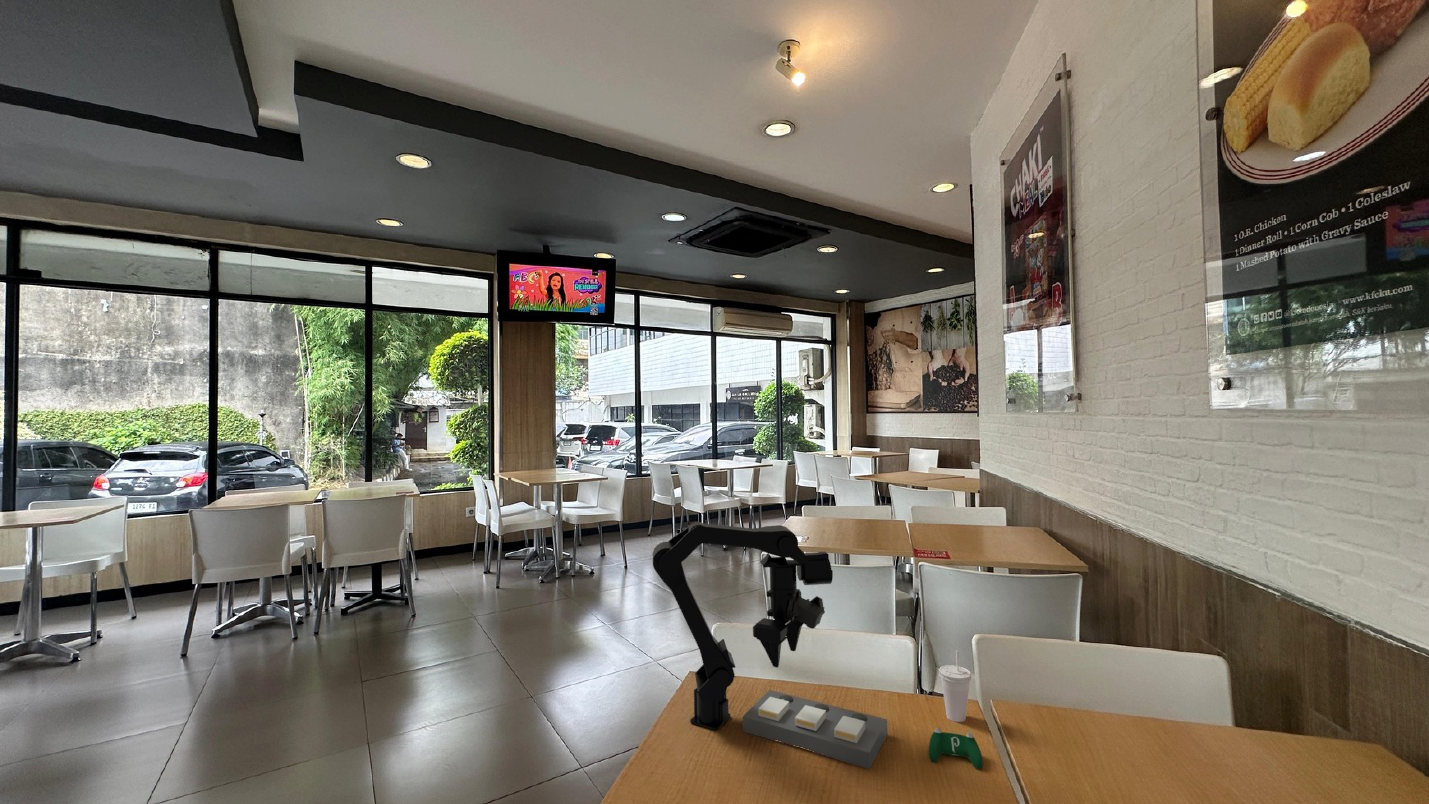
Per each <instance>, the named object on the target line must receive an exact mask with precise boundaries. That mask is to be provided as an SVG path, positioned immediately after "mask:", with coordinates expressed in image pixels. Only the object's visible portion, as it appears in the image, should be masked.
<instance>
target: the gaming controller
mask: <svg viewBox="0 0 1429 804" xmlns="http://www.w3.org/2000/svg"><path fill="white" fill-rule="evenodd" d="M942 754H943V755H946V756H948V755H951V756H956V757H957V756H958V757H961V758H968V759H969V761H970V762H971V764H972V765H973V767H974V768H975V769H976V770H982V769H983V767H984V761H983V756H982V751H981V749H980V746H979V744H978V742H977V740H976V738H975V736H974V735H973V734H972V733H971V732H966V734H965V735H963V734H958V733H954V732H942V729H941V728H938V727H937V728H935V729H934V730H933V731H932V734H931V736H930V740H929V743H928V758H929V761H930V762H933V763H937V762H938V761H939V759H940V757H941V756H942Z"/></svg>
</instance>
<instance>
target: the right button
mask: <svg viewBox="0 0 1429 804" xmlns="http://www.w3.org/2000/svg"><path fill="white" fill-rule="evenodd" d="M864 731H865V721H862V720H858V719H854V718H851V717H847V716H843V717H842V718H841V720H840V721H839V723H838V724H837V726H836V727H835V728H834V737H836V738H839V739H843V740H847V741H850V742H854V743H858V741H859V739H860V737H861V736H862V734H863V732H864Z"/></svg>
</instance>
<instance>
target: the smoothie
mask: <svg viewBox="0 0 1429 804" xmlns="http://www.w3.org/2000/svg"><path fill="white" fill-rule="evenodd" d="M955 663H956V664H955V665H954V664H953V665H952V664H947V665H942V666H940V668H939V669H938V671H939V672H938V675H939V677H940V679H941V684H942V685H941V686H942V693H943V701H944V706H945V707H944V708H945V713H946V715H945V716H946V717H947V719H948V720H950V721H952V722H955V723H962V722H965V721H966V720H967V719H966V718H967V707H968V701H969V693H970V691H969V690H970V682H971V681H972V679H973V678H972V672H971V671H970V670H969V669H967V668H965V667H962V666H960V651H959V650H955Z"/></svg>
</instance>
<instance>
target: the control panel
mask: <svg viewBox="0 0 1429 804" xmlns="http://www.w3.org/2000/svg"><path fill="white" fill-rule="evenodd" d="M769 697H773V698H777V699H781V700H785V701H789V710H788V711H787V712H786V713H785V714H784V716H783V717H782V718H781V719H780V720H779V721H775V720H772V719H768V718H764V717H761V716H759V707H760V706H761V705H762V704H763V703H764V702H765V701H766V700H767V699H768V698H769ZM805 705H807V706H811V707H815V708H819V709H822V710H826V719H825V720H824V721H823V723H822V724H821V725H820V727H819V728H818V730H817V731H813V730H810V729H806V728H803V727H799V726H796V725H795V717H796V716H797V715H798V713H799V712H800V711H801V710H802V709H803V707H804V706H805ZM843 716H847V717H851V718H854V719H858V720H862V721H865V731H864V732H863V734H862V736H861V737H860V739H859V741H858V743H854V742H850V741H847V740H843V739H839V738H836V737H834V728H835V727H836V726H837V724H838V723H839V721H840V720H841V718H842V717H843ZM742 732H744V733H747V734H751V735H755V736H756V737H760V736H761V738H764V737H765V738H764V739H767V738H768V739H767V740H770V739H771V740H770V741H774V740H778V741H781V742H783V743H782V744H784V743H786V744H785V745H787V744H790V745H795V746H799V747H803V748H805V749H809V750H811V751H814V752H816V753H815V754H817V753H818V754H817V755H820V754H823V755H822V756H824V755H825V756H824V757H828V758H830V757H831V758H830V759H834V760H836V761H841V762H845V763H847V764H851V765H854V766H856V767H857V766H858V767H861V768H864V769H868V770H870V769H871V768H872V766H873V764H874V762H875V760H876V757H877V756H878V754H879V752H880V751H881V748H882V746H883V745H884V743H885V740H886V738H887V736H888V719H887V718H884V717H883V718H882V717H879V716H874V715H870V714H867V713H863V712H860V711H855V710H851V709H848V708H847V709H846V708H843V707H840V706H835V705H832V704H828V703H824V702H819V701H815V700H811V699H808V698H804V697H799V696H796V695H792V694H788V693H783V692H782V691H781V692H780V691H776V690H772V689H769V690H768V691H766V693H765V694H763V696H761V698H760V699H758V701H757V702H755V703H754V704H753V706H751V708H749V710H748V711H746V712H745V713H744V714H743V715H742ZM790 745H789V746H790ZM814 752H813V753H814Z"/></svg>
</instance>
